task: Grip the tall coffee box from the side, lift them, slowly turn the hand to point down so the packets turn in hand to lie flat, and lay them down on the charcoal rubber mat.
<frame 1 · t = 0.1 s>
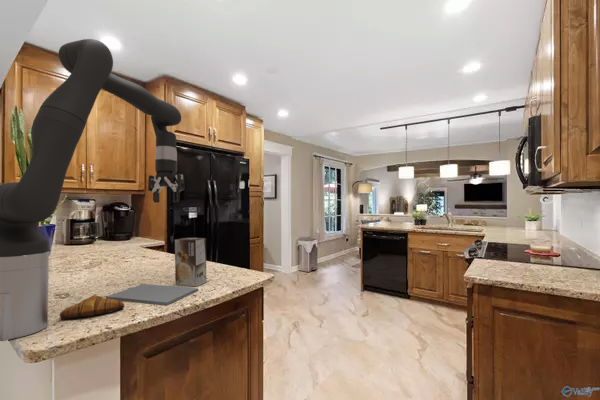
hand: (166, 202, 107), 29 cm above the counter, tool pointing down, fingers open, 8 cm apart
croissant: (93, 315, 73), on the counter
mat: (153, 294, 88), on the counter
coffee box: (191, 284, 101), on the counter
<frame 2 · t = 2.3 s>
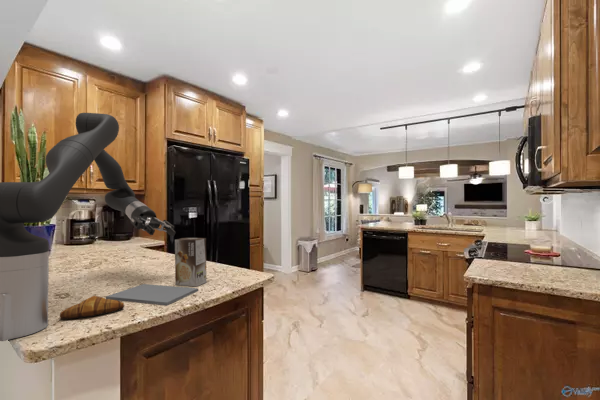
hand: (163, 233, 101), 18 cm above the counter, tool tilted 65°, fingers open, 8 cm apart
nothing on the counter moved.
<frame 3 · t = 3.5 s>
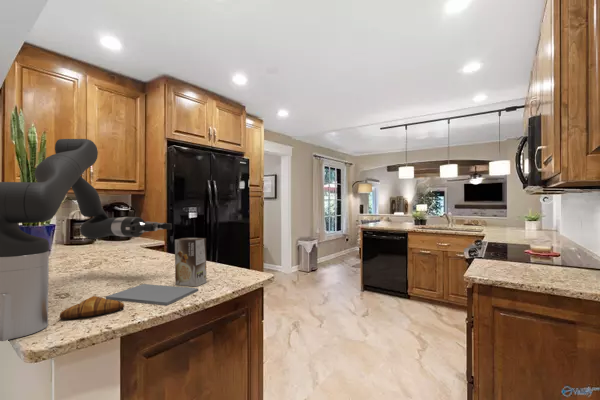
hand: (163, 227, 105), 20 cm above the counter, tool horizontal, fingers open, 8 cm apart
nothing on the counter moved.
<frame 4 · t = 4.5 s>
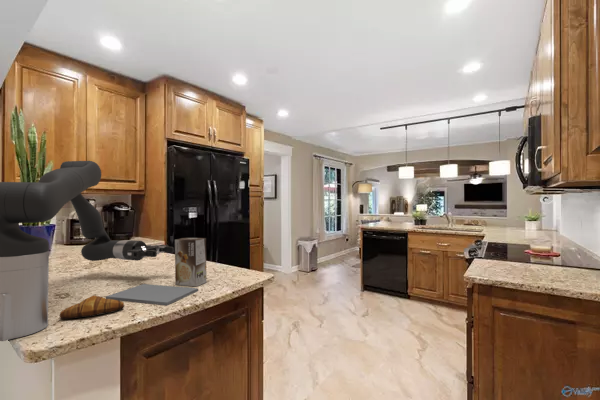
hand: (164, 251, 105), 11 cm above the counter, tool horizontal, fingers open, 8 cm apart
nothing on the counter moved.
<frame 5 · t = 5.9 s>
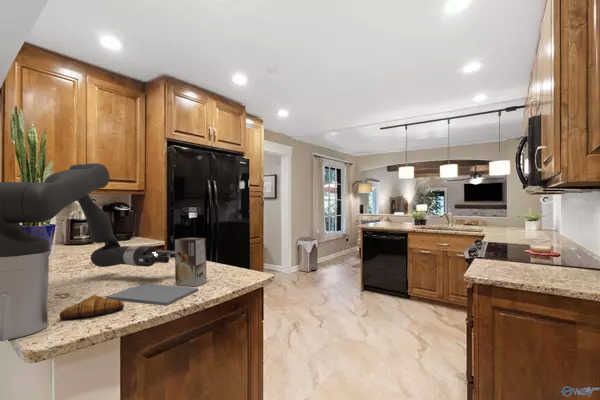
hand: (176, 257, 103), 9 cm above the counter, tool horizontal, fingers open, 8 cm apart
nothing on the counter moved.
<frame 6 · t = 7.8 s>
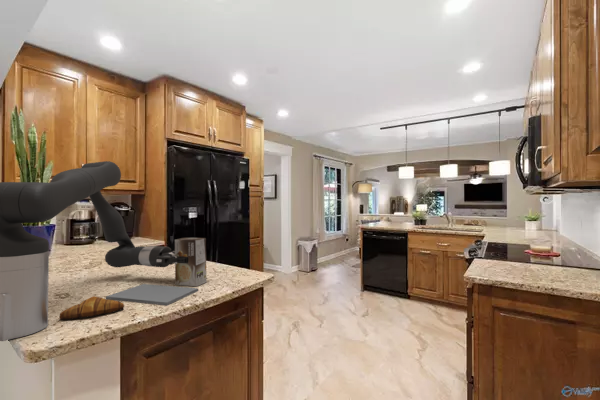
hand: (194, 258, 101), 9 cm above the counter, tool horizontal, fingers closed on coffee box, 6 cm apart
coffee box: (191, 284, 101), on the counter, touching gripper
everything else where it was.
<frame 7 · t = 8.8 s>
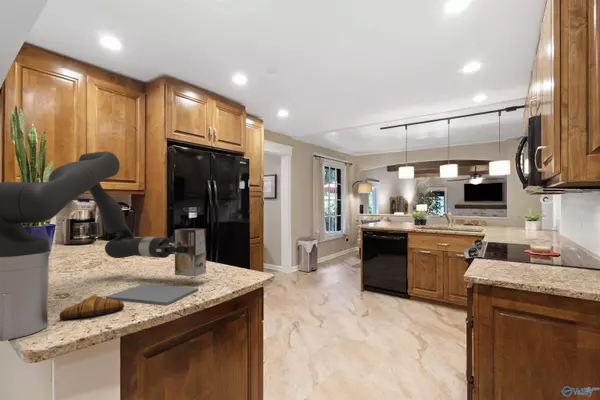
hand: (194, 248, 101), 12 cm above the counter, tool horizontal, fingers closed on coffee box, 6 cm apart
coffee box: (190, 274, 101), point 3 cm above the counter, touching gripper
everything else where it was.
when the fingers open (6 cm above the counter, at t = 20.0 s): coffee box drops 1 cm, resting on mat.
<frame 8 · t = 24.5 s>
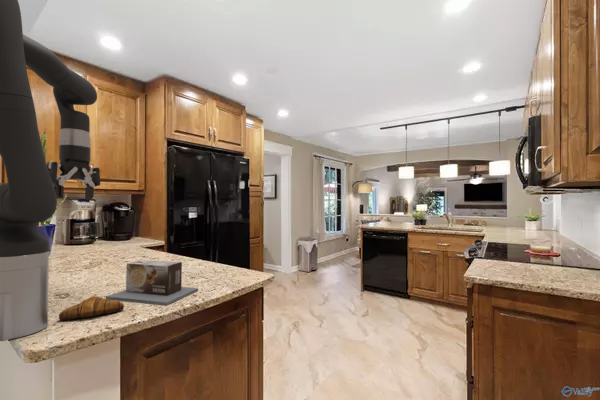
hand: (74, 199, 86), 30 cm above the counter, tool pointing down, fingers open, 8 cm apart
coffee box: (133, 274, 92), point 5 cm above the counter, touching mat
everything else where it was.
at the end: coffee box tilted 91°; coffee box touching mat; coffee box inside the target area (8.2 cm from its centre), point 5.4 cm above the counter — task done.
